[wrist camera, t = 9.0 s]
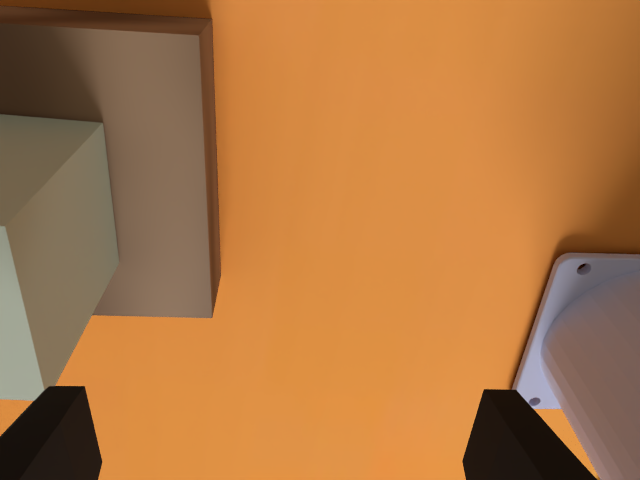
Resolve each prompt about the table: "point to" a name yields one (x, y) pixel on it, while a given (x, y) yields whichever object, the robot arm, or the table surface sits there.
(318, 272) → the table surface
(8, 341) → the sage cube
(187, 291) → the walnut base
